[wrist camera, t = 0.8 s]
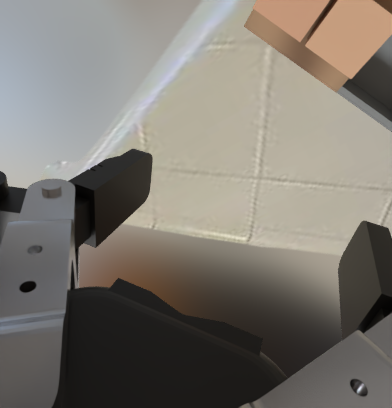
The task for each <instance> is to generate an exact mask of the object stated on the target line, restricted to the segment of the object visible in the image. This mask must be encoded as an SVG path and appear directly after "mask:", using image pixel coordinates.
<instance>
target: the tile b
mask: <svg viewBox="0 0 392 408" xmlns="http://www.w3.org/2000/svg"><path fill="white" fill-rule="evenodd" d="M391 35H392V14H391V13H390V12H388V11H387V10H386V9H384V8H383V7H382V6H380V5H379V4H378V3H376V2H375V1H374V0H335V1H334V2H333V4H332V5H331V7H330V8H329V9H328V11H327V12H326V14H325V15H324V16H323V18H322V19H321V20H320V22H319V23H318V25H317V26H316V27H315V29H314V30H313V32H312V33H311V34H310V36H309V37H308V39H307V41H306V44H305V46H306V47H307V48H308V49H310V50H311V51H313V52H314V53H315V54H317V55H318V56H319V57H321V58H322V59H324V60H325V61H326V62H328V63H329V64H331V65H332V66H333V67H335V68H336V69H337V70H339V71H340V72H342V73H343V74H344V75H346V76H347V77H349V78H350V79H352V78H353V77H354V76H355V74H356V73H357V72H358V71H359V70H360V69H361V68H362V67H363V66H364V65H365V63H366V62H367V61H368V60H369V59H370V58H371V57H372V56H373V55H374V53H375V52H376V51H377V50H378V49H379V48H380V47H381V46H382V45H383V44H384V42H385V41H386V40H387V39H388V38H389V37H390V36H391Z"/></svg>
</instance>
